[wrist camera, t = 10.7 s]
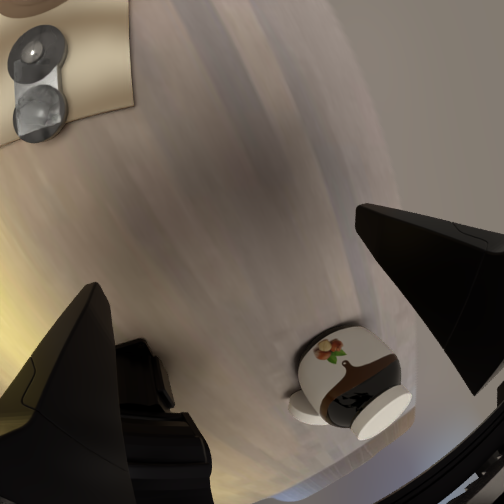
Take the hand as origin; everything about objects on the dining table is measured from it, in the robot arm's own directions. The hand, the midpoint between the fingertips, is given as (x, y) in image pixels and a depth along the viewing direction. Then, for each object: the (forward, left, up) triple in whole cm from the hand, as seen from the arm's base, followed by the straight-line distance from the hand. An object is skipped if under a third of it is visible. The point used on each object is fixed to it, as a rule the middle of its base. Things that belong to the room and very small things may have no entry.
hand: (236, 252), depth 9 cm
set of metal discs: (-7, +19, -12) cm, 24 cm away
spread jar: (+10, -25, -12) cm, 29 cm away
